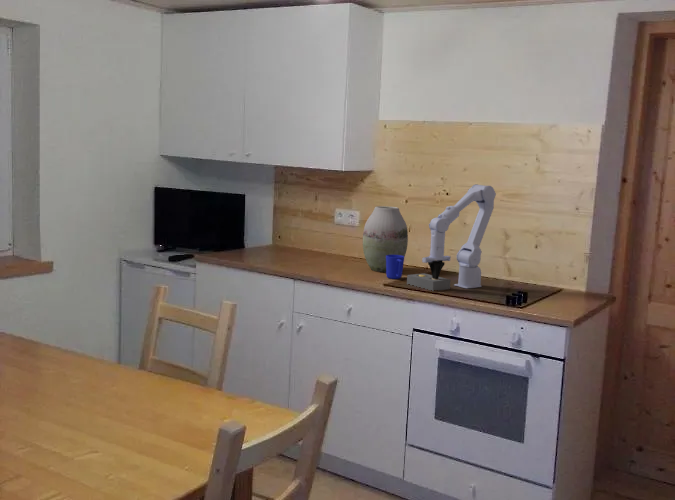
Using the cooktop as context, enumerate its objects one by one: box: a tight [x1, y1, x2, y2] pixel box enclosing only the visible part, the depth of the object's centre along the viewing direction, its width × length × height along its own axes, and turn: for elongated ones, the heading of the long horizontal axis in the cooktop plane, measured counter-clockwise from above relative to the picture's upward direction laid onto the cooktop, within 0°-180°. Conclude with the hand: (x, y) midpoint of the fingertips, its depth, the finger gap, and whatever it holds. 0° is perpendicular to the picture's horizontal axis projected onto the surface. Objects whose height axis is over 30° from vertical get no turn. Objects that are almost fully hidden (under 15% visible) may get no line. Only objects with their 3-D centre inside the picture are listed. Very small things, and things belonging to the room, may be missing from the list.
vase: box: [362, 205, 409, 273], centre depth 344 cm, size 21×21×30 cm
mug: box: [385, 255, 405, 280], centre depth 324 cm, size 8×12×10 cm
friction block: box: [406, 272, 452, 292], centre depth 309 cm, size 10×16×4 cm, turn 37°
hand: (435, 278), depth 305 cm, fingers closed, pressing on birch peg
